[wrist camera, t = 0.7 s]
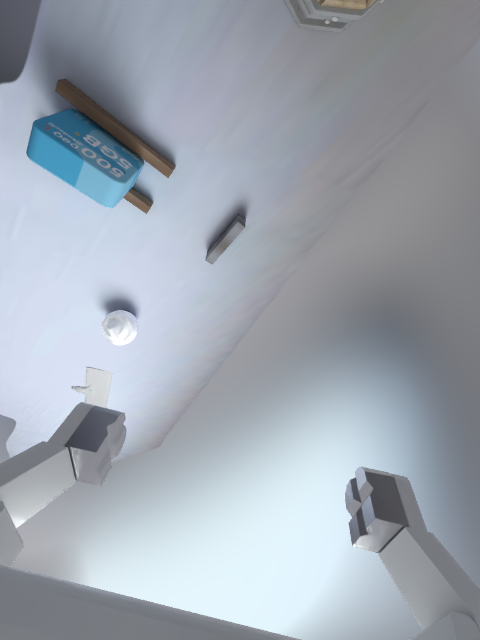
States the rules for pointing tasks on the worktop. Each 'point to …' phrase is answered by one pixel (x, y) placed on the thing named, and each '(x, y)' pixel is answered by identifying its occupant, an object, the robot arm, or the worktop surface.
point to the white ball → (120, 327)
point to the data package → (84, 156)
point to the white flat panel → (96, 387)
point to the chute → (144, 152)
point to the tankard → (329, 13)
